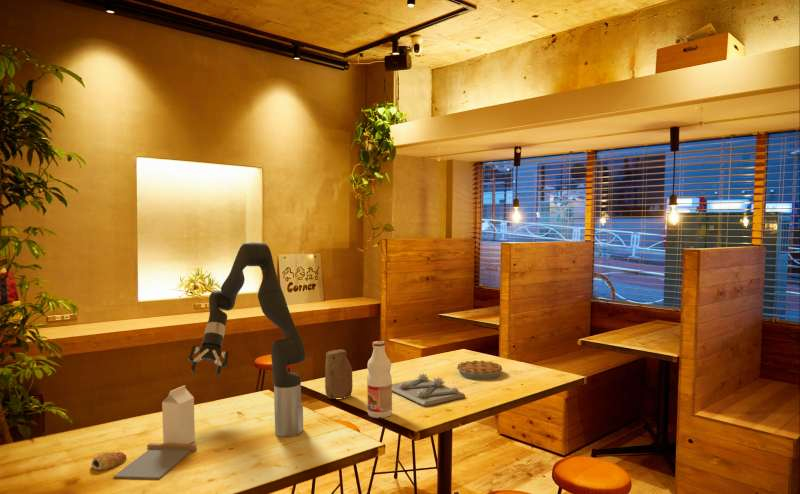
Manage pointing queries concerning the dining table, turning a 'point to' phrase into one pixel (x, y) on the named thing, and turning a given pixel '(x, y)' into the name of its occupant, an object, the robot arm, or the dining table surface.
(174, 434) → the milk carton
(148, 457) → the grey flat board
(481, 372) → the pie
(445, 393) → the decorative plate
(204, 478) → the dining table surface
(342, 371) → the block
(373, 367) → the fruit juice
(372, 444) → the dining table surface
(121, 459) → the pastry
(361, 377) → the dining table surface
